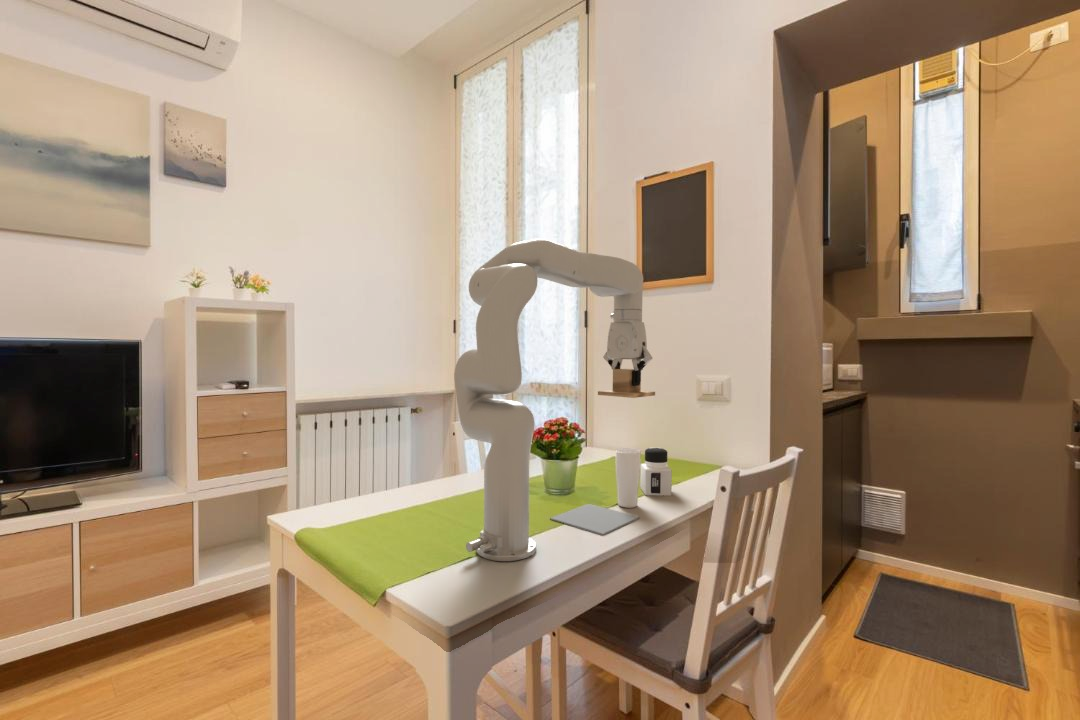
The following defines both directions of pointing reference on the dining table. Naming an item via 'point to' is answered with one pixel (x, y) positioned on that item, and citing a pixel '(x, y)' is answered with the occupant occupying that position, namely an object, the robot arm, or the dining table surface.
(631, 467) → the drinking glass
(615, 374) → the lid
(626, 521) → the mat
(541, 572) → the dining table surface
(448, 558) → the dining table surface
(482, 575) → the dining table surface
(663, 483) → the container
